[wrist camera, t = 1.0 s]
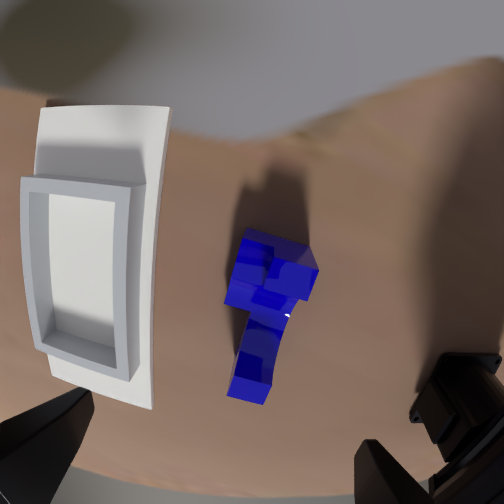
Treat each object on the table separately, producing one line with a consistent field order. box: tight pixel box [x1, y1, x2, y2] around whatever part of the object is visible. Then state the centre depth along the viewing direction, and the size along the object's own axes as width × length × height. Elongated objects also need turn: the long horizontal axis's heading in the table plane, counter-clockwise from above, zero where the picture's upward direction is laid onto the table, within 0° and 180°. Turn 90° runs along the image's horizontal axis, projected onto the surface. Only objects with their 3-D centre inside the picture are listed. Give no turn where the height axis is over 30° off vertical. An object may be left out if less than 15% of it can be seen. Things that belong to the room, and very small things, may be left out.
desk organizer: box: [20, 105, 173, 410], centre depth 17 cm, size 9×20×3 cm, turn 171°
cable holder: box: [224, 227, 319, 405], centre depth 16 cm, size 8×4×4 cm, turn 164°
